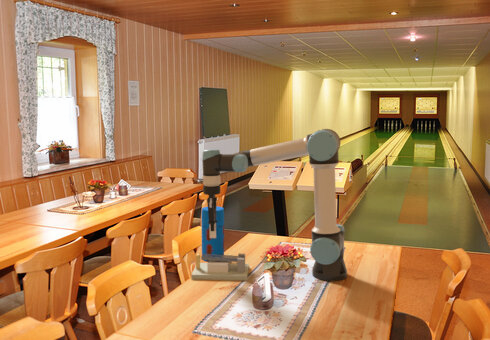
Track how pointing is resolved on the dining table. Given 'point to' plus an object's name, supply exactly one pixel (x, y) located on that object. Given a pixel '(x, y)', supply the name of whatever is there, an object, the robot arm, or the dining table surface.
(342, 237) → the robot arm
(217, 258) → the clamp lever
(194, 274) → the clamp board
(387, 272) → the dining table surface
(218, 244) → the thermos
